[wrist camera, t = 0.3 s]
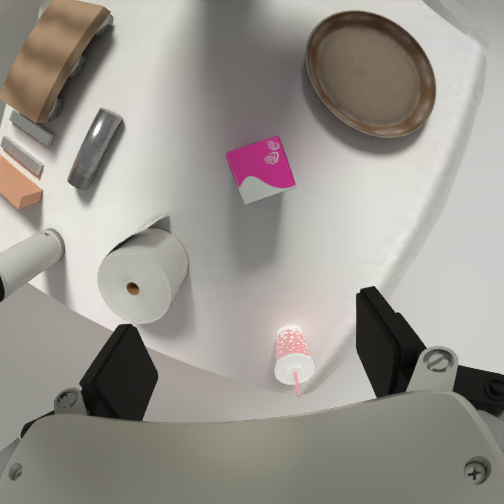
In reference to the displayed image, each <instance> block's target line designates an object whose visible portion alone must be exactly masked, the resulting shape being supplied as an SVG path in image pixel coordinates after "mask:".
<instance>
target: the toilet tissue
mask: <svg viewBox="0 0 504 504" xmlns="http://www.w3.org/2000/svg"><path fill="white" fill-rule="evenodd" d="M167 214H168V213H167ZM165 215H166V214H164V215H162V216H159V217H157V218H155V219H154V220H152V221H150V222H149V223H147V224H146V225H144V226H143V227H141V228H140V229H138V230H137V231H136V232H134V233H133V234H132V235H130V236H129V237H127V238H126V239H125V240H123V241H122V242H121V243H119V244H118V245H117V246H115V247H114V248H113V249H112V250H111V251H110V252H109V253H108V255H107V256H106V257H105V258H104V260H103V261H102V263H101V265H100V267H99V270H98V286H99V290H100V293H101V296H102V297H103V299H104V301H105V303H106V304H107V305H108V306H109V308H110V309H111V310H112V311H113V312H114V313H116V314H117V315H118V316H120V317H121V318H123V319H124V320H127V321H130V322H133V323H137V324H146V323H153V322H155V321H156V320H159V319H161V317H162V316H163V315H164V314H165V313H166V312H167V310H168V308H169V307H170V305H171V303H172V301H173V299H174V297H175V295H176V293H177V291H178V290H179V288H180V286H181V284H182V283H183V280H184V279H185V277H186V275H187V272H188V258H187V254H186V251H185V249H184V247H183V245H182V244H181V243H180V241H179V240H178V239H177V238H176V237H175V236H173V235H172V234H171V233H169V232H167V231H165V230H162V229H157V228H149V229H147V228H148V227H150V226H151V225H152V224H154V223H155V222H157V221H158V220H159V219H161V218H162V217H163V216H165ZM136 233H137V234H136Z"/></svg>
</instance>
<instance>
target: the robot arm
mask: <svg viewBox="0 0 504 504" xmlns="http://www.w3.org/2000/svg"><path fill="white" fill-rule="evenodd" d="M356 349H357V353H358V355H359V358H360V360H361V362H362V364H363V367H364V369H365V371H366V374H367V376H368V378H369V380H370V383H371V385H372V388H373V390H374V392H375V395H376V397H377V398H376V399H371V400H367V401H363V402H358V403H354V404H349V405H345V406H341V407H336V408H331V409H325V410H320V411H315V412H309V413H303V414H297V415H291V416H283V417H275V418H266V419H256V420H245V421H230V422H206V423H173V422H172V423H171V422H170V423H169V422H147V421H142V420H143V417H144V414H145V411H146V409H147V406H148V403H149V401H150V398H151V396H152V392H153V390H154V388H155V385H156V383H157V380H158V372H157V370H156V368H155V366H154V364H153V362H152V360H151V358H150V356H149V354H148V352H147V349H146V347H145V345H144V343H143V341H142V339H141V336H140V334H139V332H138V330H137V328H136V327H134V326H133V325H132V324H121V325H118V327H117V328H116V329H115V331H114V332H113V334H112V335H111V337H110V338H109V339H108V341H107V342H106V344H105V345H104V347H103V348H102V349H101V351H100V352H99V354H98V355H97V357H96V358H95V360H94V361H93V363H92V364H91V366H90V367H89V369H88V370H87V372H86V373H85V375H84V376H83V378H82V379H81V381H80V383H79V384H80V385H81V387H82V390H81V391H80V390H79V389H77V388H68V389H66V390H64V391H62V392H61V393H60V394H58V396H57V397H56V398H55V401H54V410H53V411H51V412H49V413H48V414H45V415H44V416H41V417H40V418H37V419H35V420H33V421H31V422H29V423H27V424H25V425H24V427H23V429H22V432H21V440H20V439H19V438H17V439H16V440H14V441H13V442H12V443H11V444H9V445H8V446H7V447H6V448H4V449H3V450H2V451H1V452H0V504H504V375H502V374H499V373H494V372H489V371H484V370H479V369H474V368H470V367H465V366H461V365H458V357H457V355H456V354H455V353H454V352H453V351H452V350H451V349H449V348H446V347H442V346H434V347H430V348H426V346H425V345H424V344H423V342H422V341H421V340H420V338H419V337H418V335H417V334H416V333H415V332H414V330H413V329H412V328H411V326H410V325H409V324H408V322H407V321H406V320H405V319H404V317H403V316H402V315H401V314H400V313H398V312H397V313H395V311H394V310H393V309H392V308H391V306H390V305H389V304H388V302H387V301H386V300H385V299H384V297H383V296H382V295H381V294H380V292H379V291H378V290H377V289H376V287H375V286H372V287H367V288H363V289H361V290H360V293H357V294H356Z"/></svg>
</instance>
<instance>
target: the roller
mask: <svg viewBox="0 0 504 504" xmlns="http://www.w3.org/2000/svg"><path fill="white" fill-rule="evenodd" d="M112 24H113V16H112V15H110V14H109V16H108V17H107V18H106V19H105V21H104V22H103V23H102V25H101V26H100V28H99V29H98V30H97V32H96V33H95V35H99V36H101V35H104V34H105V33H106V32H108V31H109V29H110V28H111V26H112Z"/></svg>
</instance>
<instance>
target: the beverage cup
mask: <svg viewBox="0 0 504 504" xmlns="http://www.w3.org/2000/svg"><path fill="white" fill-rule="evenodd" d="M315 370H316V369H315V364H314V361H313V360H312V358H311V357H310V354H309V351H308V348H307V345H306V342H305V339H304V336H303V333H302V331H301V330H300V328H298V327H296V326H285V327H283V328H281V329H280V330H279V331H278V333H277V336H276V364H275V368H274V373H275V377H276V379H277V380H279V381H280V382H281V383H284V384H286V385H296V392H297V397H300V389H299V384H302V383H304V382H306V381H308V380H309V379H310V378H311V377H312V376H313V375H314V372H315Z"/></svg>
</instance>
